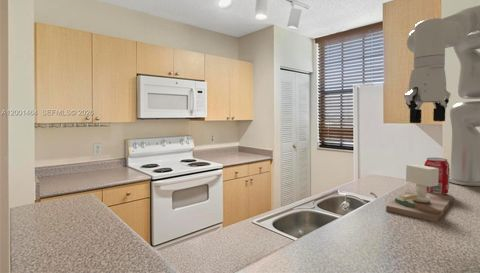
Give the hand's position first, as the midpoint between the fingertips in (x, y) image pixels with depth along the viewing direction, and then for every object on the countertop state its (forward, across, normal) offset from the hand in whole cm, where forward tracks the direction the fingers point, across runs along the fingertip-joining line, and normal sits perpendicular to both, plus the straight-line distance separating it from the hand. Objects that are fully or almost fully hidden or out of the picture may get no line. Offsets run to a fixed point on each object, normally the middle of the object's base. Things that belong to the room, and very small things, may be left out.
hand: (427, 122), depth 80 cm
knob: (+23, +6, +1) cm, 24 cm away
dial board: (+25, +4, +1) cm, 25 cm away
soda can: (+26, -13, -6) cm, 30 cm away
